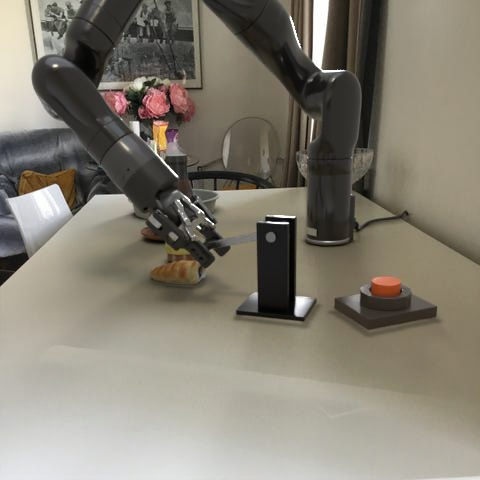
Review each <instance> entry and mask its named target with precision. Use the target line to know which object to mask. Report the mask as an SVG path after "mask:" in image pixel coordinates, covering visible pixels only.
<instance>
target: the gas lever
mask: <svg viewBox="0 0 480 480" xmlns="http://www.w3.org/2000/svg"><path fill="white" fill-rule="evenodd" d="M281 222H284V223H287V221H281ZM289 238H290V234H289ZM251 242H257V233H256V232H250V233H245V234H241V235H235V236H230V237H225V238H224V239H220V240H218V239H217V238H216V237H211V238H210V239H208V240H207V241H205V240H204V241H203V242H202V244H203V245H204V246H205V247H206V248H207V249H208V250H209V251H211V250H213V249H215V248H220V247H225V246H231V247H232V246H235V245H241V244H245V243H251Z"/></svg>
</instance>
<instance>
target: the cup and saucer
mask: <svg viewBox="0 0 480 480" xmlns="http://www.w3.org/2000/svg"><path fill="white" fill-rule="evenodd" d="M151 215H152V212H150V214H149V217H150V216H151ZM163 228H164V226H163ZM140 234H141V235H142V236H143V237H144V238H146V239H148V240H152V241H162V242H163V241H164V240H163V239H161V238H160V237H159V236H158V235H157V234H156V233H155V232H154V231H152V230H151V229H150V228H149V227H148V226H145V227H143V228H142V229H140ZM164 242H165V241H164Z"/></svg>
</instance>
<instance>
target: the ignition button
mask: <svg viewBox="0 0 480 480" xmlns="http://www.w3.org/2000/svg"><path fill="white" fill-rule="evenodd" d="M370 283H371V292H372V293H373V294H377V295H382V296H393V295H399V294H400V290H401V285H402V281H401V279H399V278H397V277H393V276H377V277H373V278H371V282H370Z"/></svg>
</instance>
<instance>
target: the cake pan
mask: <svg viewBox="0 0 480 480" xmlns="http://www.w3.org/2000/svg"><path fill="white" fill-rule="evenodd" d="M192 190H193V193H194V194H196V195H197V196H198V197H199V198H200V200H201V201H202V202H203V203H204V205H205V206H206V207H207V208H208V210H209V211H210V212H211V213H212V214H213V213H214V211H215V208H216V207H215V206H216V203H217V200H218V199H219V198H220V197H221V194H220V193H219V192H217V191H214V190H209V189H201V188H192ZM127 200H128V202H129V203H130V204H132V207H133V210H134V214H135V216H137V217H138V218H140V219H144V220H147V219H148V218H149V214H150V212H149V213H142V212H141V211H140V210H139V209H138V208H137V207H136V206H135V205H134V204H133V203H132V202H131V201H130V200H129V199H128V198H127Z"/></svg>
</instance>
